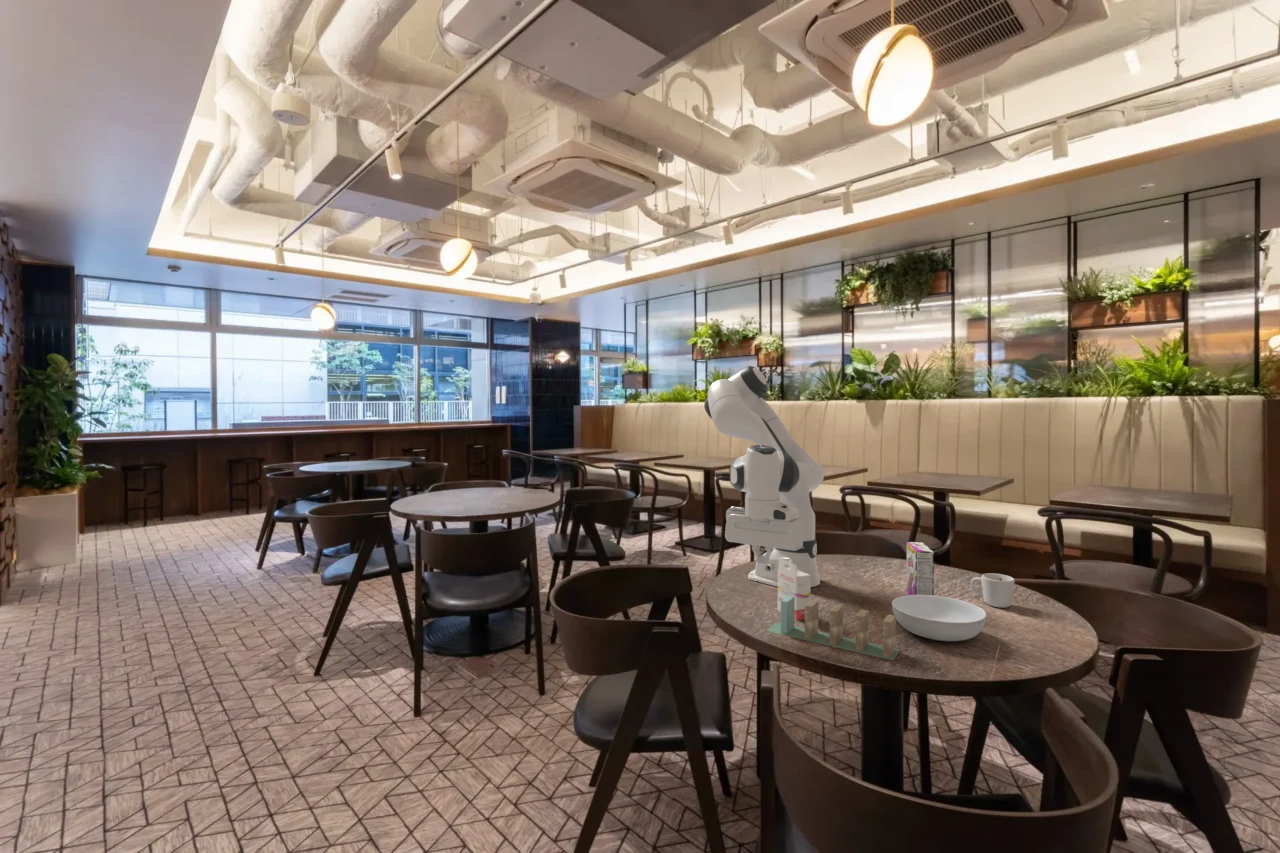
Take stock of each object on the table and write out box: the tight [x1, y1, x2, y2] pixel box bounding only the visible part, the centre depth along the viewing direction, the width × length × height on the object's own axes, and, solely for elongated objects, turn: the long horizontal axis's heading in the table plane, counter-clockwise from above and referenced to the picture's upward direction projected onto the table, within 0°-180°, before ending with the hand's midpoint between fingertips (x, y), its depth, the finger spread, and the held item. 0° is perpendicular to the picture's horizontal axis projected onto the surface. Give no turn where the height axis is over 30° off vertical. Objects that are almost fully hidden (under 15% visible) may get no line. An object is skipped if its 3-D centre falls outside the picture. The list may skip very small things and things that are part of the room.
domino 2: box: [804, 599, 819, 639], centre depth 146 cm, size 2×5×8 cm, turn 145°
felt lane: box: [765, 622, 901, 661], centre depth 143 cm, size 30×7×1 cm, turn 55°
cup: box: [970, 572, 1016, 609], centre depth 168 cm, size 11×8×8 cm
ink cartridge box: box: [777, 559, 812, 621], centre depth 160 cm, size 9×5×15 cm, turn 23°
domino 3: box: [829, 604, 844, 645], centre depth 142 cm, size 2×5×8 cm, turn 145°
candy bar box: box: [905, 541, 935, 596], centre depth 169 cm, size 11×5×16 cm, turn 168°
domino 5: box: [882, 614, 897, 658], centre depth 135 cm, size 2×5×8 cm, turn 145°
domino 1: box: [780, 596, 795, 634], centre depth 149 cm, size 2×5×8 cm, turn 145°
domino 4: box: [855, 609, 870, 651], centre depth 139 cm, size 2×5×8 cm, turn 145°
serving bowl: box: [891, 595, 987, 642], centre depth 147 cm, size 21×21×7 cm
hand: (762, 562), depth 152 cm, fingers closed
